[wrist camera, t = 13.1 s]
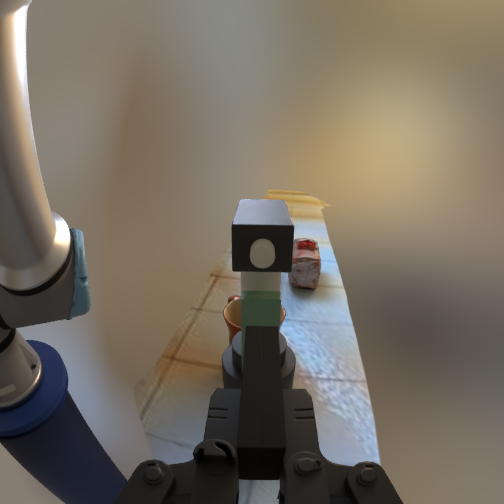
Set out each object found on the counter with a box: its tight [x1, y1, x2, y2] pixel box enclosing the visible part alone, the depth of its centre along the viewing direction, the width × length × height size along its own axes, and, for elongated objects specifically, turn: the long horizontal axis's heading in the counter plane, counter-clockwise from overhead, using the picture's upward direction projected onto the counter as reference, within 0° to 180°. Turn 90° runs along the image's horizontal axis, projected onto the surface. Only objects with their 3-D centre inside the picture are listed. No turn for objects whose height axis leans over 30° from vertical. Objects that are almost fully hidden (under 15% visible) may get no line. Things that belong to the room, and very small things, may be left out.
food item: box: [288, 238, 321, 289], centre depth 72 cm, size 14×8×10 cm, turn 173°
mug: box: [223, 295, 286, 345], centre depth 45 cm, size 12×9×10 cm
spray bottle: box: [222, 199, 296, 389], centre depth 26 cm, size 10×7×28 cm
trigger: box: [241, 291, 281, 371], centre depth 21 cm, size 1×3×7 cm, turn 89°
